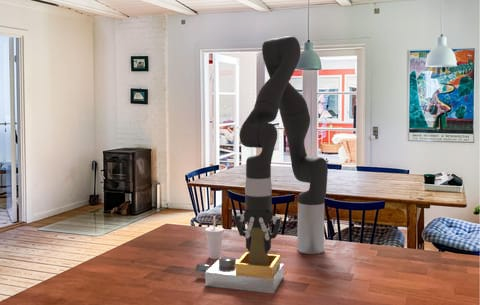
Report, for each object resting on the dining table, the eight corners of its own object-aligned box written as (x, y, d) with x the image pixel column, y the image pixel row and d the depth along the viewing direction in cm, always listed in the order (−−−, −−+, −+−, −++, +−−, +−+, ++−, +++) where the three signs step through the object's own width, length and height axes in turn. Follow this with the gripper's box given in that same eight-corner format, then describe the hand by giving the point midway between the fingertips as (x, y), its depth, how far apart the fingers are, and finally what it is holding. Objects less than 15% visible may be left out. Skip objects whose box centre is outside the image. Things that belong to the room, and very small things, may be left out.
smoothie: (224, 253, 167) (223, 214, 166) (224, 259, 161) (223, 218, 159) (205, 254, 167) (205, 214, 165) (204, 260, 161) (204, 218, 159)
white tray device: (205, 268, 153) (205, 247, 152) (283, 276, 145) (283, 254, 145) (189, 283, 140) (188, 260, 139) (273, 293, 133) (273, 268, 132)
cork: (243, 263, 140) (243, 226, 139) (257, 258, 144) (257, 222, 143) (259, 268, 136) (259, 229, 135) (272, 262, 140) (273, 225, 139)
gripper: (285, 191, 140) (285, 249, 141) (238, 189, 144) (238, 245, 146) (280, 196, 132) (279, 257, 134) (230, 193, 137) (230, 252, 138)
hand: (258, 250), depth 140 cm, fingers closed on cork, 4 cm apart
